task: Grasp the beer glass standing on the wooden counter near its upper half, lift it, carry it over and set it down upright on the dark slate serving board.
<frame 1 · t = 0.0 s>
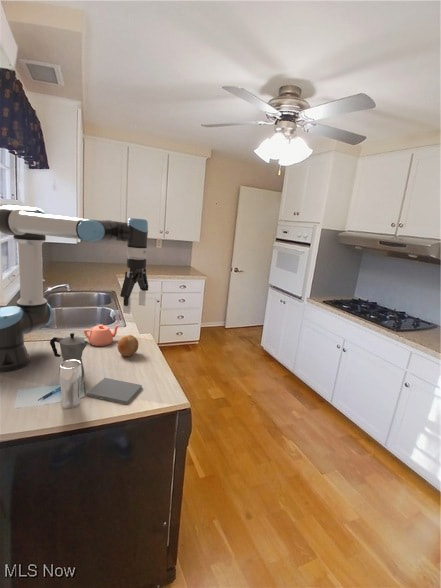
hand: (134, 309, 126), 28 cm above the countertop, fingers open, 13 cm apart
onion: (127, 355, 147), on the countertop
teapot: (102, 342, 159), on the countertop
slate board: (115, 391, 116), on the countertop
coffeepot: (69, 375, 124), on the countertop
beer glass: (70, 404, 106), on the countertop
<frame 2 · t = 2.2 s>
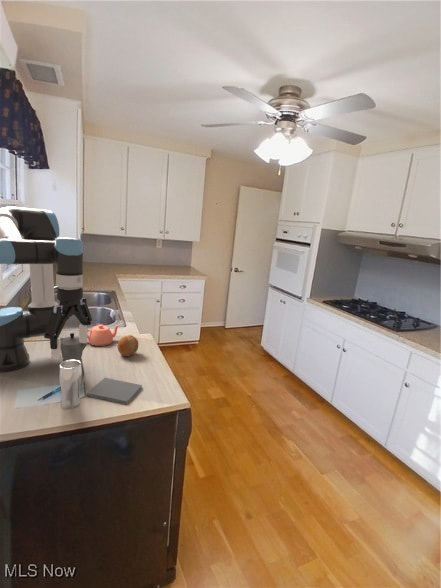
hand: (70, 349, 101), 20 cm above the countertop, fingers open, 13 cm apart
nothing on the countertop moved.
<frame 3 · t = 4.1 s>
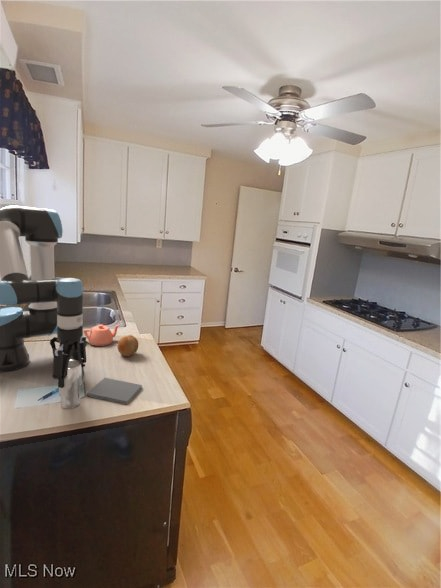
hand: (70, 389, 104), 6 cm above the countertop, fingers closed on beer glass, 7 cm apart
beer glass: (70, 404, 106), on the countertop, touching gripper
everything else where it was.
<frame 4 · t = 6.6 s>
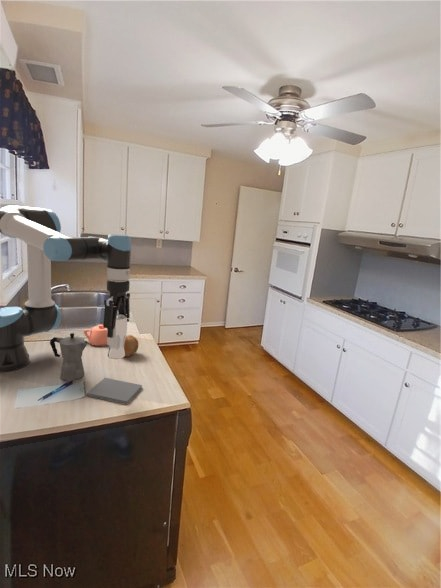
hand: (116, 341, 111), 20 cm above the countertop, fingers closed on beer glass, 7 cm apart
beer glass: (116, 356, 112), point 15 cm above the countertop, touching gripper
everything else where it was.
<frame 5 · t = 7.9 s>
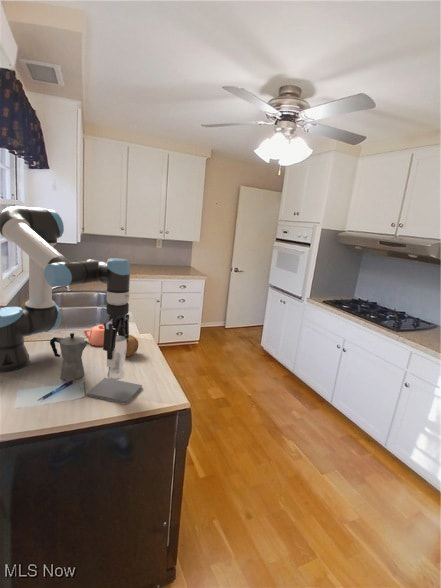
hand: (116, 362, 113), 12 cm above the countertop, fingers closed on beer glass, 7 cm apart
beer glass: (116, 376, 114), point 6 cm above the countertop, touching gripper
everything else where it was.
when the fingers open (8 cm above the countertop, at t = 9.1 s): beer glass drops 1 cm, resting on slate board.
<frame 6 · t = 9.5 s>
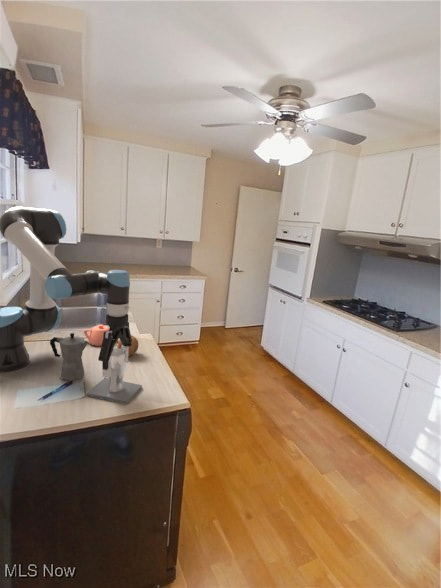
hand: (115, 368, 114), 9 cm above the countertop, fingers open, 12 cm apart
beer glass: (115, 388, 115), point 1 cm above the countertop, touching slate board
everything else where it was.
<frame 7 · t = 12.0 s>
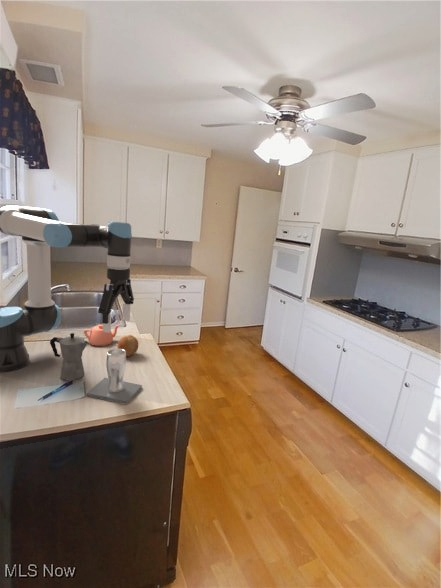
hand: (116, 325, 110), 26 cm above the countertop, fingers open, 13 cm apart
nothing on the countertop moved.
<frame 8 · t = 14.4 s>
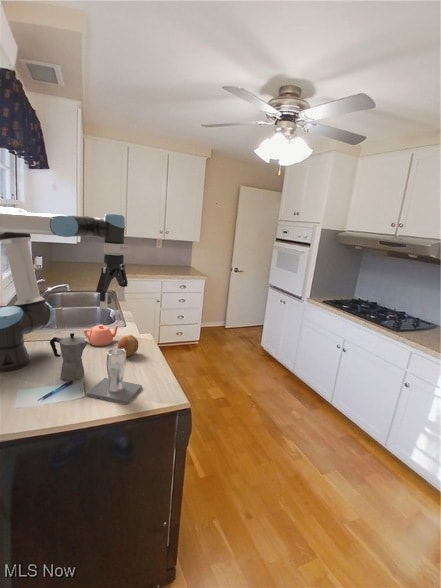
hand: (112, 304, 126), 29 cm above the countertop, fingers open, 13 cm apart
nothing on the countertop moved.
at the end: beer glass inside the target area on the slate board (0.2 cm from its centre), point 1.0 cm above the slate board's base; beer glass tilted 0°; the gripper is holding nothing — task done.
